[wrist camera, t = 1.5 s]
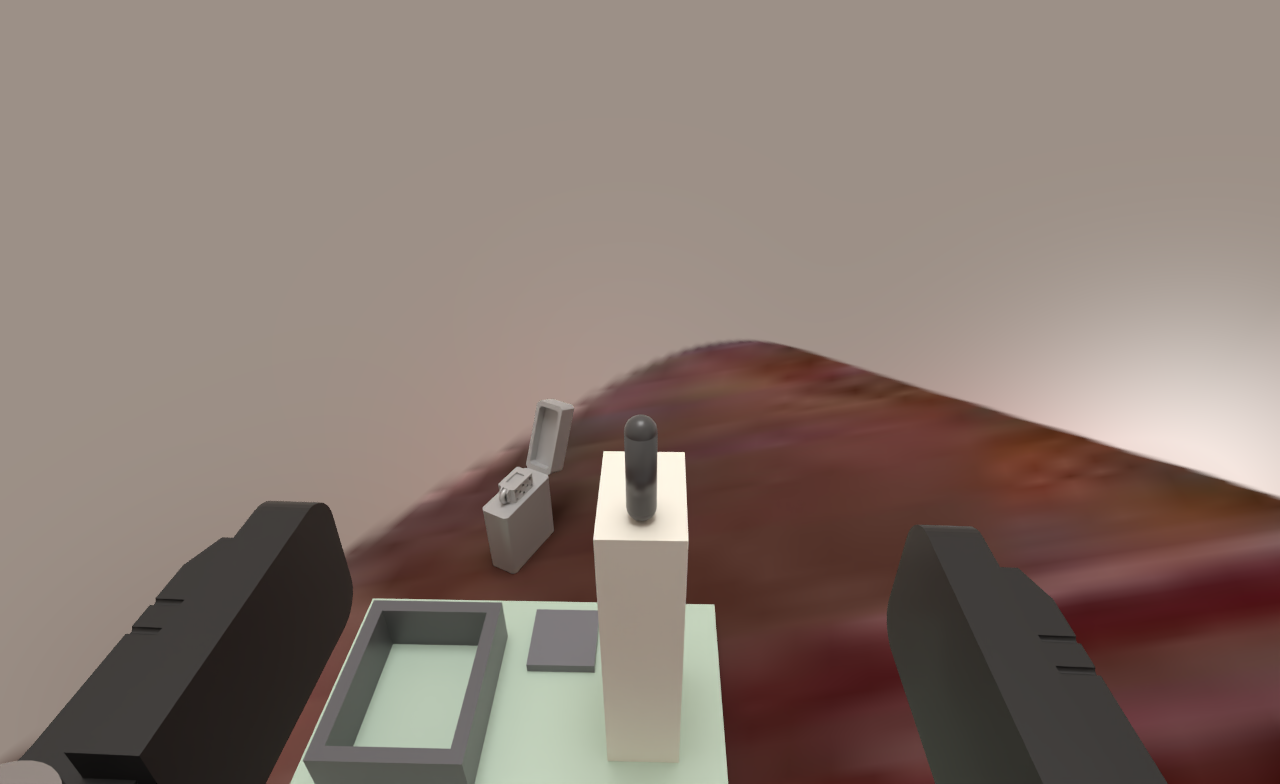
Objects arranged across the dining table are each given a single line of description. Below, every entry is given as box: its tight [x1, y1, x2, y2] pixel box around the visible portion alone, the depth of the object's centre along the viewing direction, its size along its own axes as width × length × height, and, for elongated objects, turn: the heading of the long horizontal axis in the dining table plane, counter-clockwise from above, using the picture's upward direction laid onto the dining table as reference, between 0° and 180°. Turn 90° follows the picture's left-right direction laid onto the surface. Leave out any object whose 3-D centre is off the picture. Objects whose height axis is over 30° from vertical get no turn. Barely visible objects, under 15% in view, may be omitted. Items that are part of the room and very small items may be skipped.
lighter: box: [483, 399, 574, 574], centre depth 39 cm, size 7×2×8 cm, turn 152°
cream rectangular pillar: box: [593, 415, 688, 763], centre depth 26 cm, size 3×4×17 cm, turn 178°
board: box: [290, 599, 728, 784], centre depth 30 cm, size 18×12×4 cm, turn 88°
